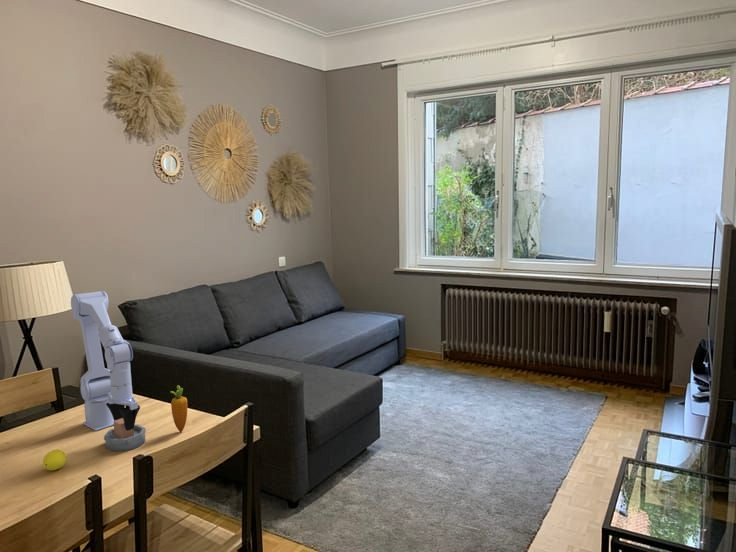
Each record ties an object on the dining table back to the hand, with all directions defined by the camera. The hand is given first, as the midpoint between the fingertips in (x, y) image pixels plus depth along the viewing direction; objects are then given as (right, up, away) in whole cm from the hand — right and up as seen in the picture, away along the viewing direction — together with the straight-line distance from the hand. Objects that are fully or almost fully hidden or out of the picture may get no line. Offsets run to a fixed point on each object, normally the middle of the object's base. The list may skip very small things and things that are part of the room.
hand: (124, 426), depth 165 cm
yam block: (0, -3, 0) cm, 3 cm away
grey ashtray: (0, -5, +1) cm, 5 cm away
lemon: (-13, -8, -14) cm, 21 cm away
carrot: (+14, -4, +8) cm, 17 cm away
